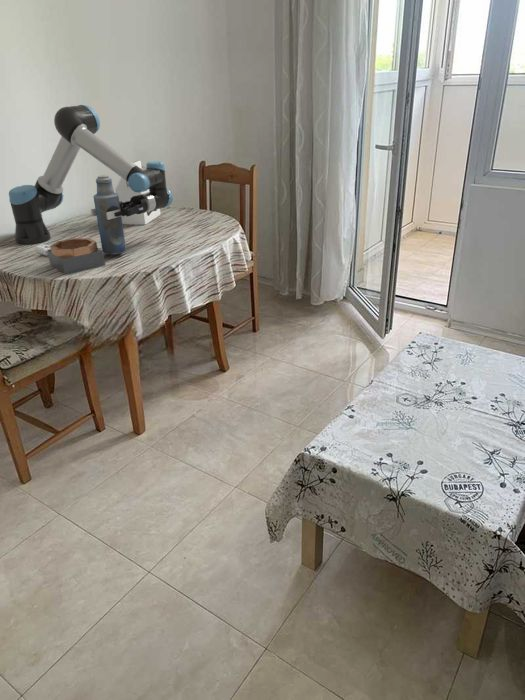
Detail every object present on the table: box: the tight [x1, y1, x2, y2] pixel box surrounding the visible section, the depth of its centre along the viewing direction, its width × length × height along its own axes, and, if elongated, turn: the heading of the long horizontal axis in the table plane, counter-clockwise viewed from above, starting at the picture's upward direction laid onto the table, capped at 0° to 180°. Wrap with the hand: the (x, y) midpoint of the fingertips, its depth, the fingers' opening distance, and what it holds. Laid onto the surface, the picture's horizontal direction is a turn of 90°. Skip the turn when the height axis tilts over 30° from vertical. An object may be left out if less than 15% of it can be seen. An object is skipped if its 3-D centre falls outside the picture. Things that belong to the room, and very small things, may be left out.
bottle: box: [93, 174, 127, 255], centre depth 211 cm, size 10×10×30 cm
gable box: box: [115, 159, 161, 226], centre depth 266 cm, size 22×13×28 cm, turn 169°
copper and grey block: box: [46, 237, 106, 276], centre depth 206 cm, size 16×16×8 cm
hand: (99, 214), depth 208 cm, fingers closed on bottle, 9 cm apart
